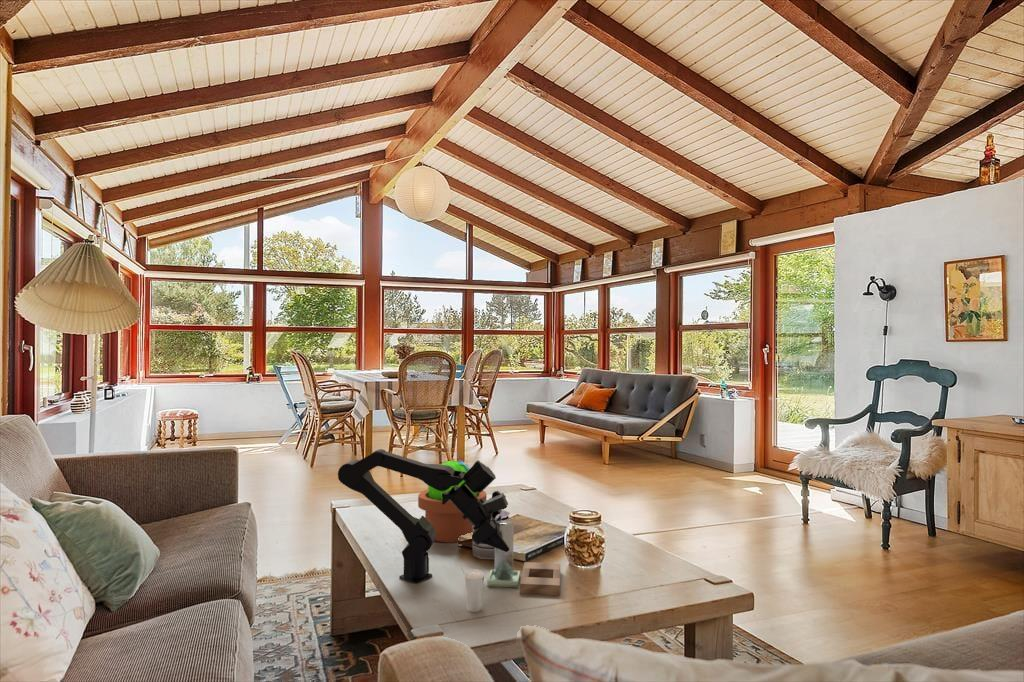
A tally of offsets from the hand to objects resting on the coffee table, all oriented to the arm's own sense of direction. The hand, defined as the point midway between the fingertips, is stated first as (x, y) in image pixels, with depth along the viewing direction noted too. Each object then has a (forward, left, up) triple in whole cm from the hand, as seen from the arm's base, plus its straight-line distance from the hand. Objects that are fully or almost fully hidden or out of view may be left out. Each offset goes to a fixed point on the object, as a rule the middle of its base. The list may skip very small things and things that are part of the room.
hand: (509, 547), depth 168 cm
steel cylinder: (-1, +1, -8) cm, 8 cm away
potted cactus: (+22, +39, -9) cm, 46 cm away
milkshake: (-20, -3, -9) cm, 22 cm away
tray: (-1, +1, -9) cm, 9 cm away
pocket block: (+4, -7, -9) cm, 12 cm away
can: (+15, +18, -9) cm, 25 cm away
